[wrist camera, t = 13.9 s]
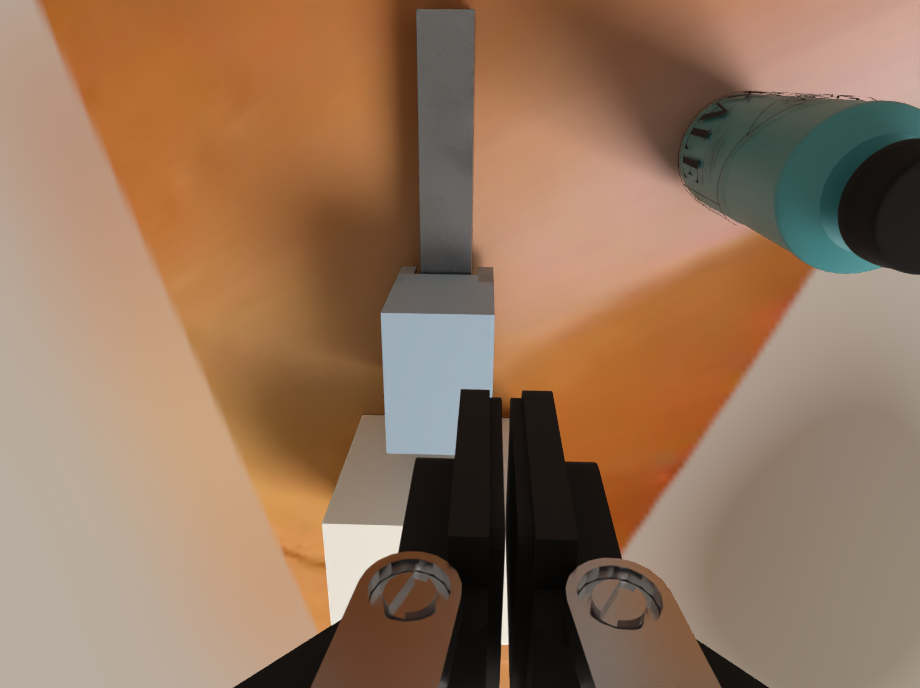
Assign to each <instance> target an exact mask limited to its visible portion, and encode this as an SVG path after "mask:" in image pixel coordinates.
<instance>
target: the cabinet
mask: <svg viewBox="0 0 920 688" xmlns="http://www.w3.org/2000/svg"><path fill="white" fill-rule="evenodd" d="M509 420H510V418H502V434H503V468H504V502H505V517H506V492H507V468H508V444H509ZM417 457H424V458H455V455H429V454H389V453H386V429H385V415H362V417H361V420H360V422H359V425H358V428H357V430H356V433H355V436H354V438H353V441H352V444H351V447H350V449H349V452H348V455H347V457H346V460H345V463H344V466H343V468H342V471H341V474H340V476H339V479H338V482H337V484H336V487H335V490H334V493H333V495H332V498H331V501H330V503H329V506H328V509H327V512H326V514H325V517H324V520H323V522H322V529H323V540H324V551H325V562H326V574H327V585H328V596H329V607H330V618H331V626H332V625H333V624H335V623H336V622H338V621H339V620H341V619H342V617H343V615H344V612H345V610H346V608H347V606H348V603H349V601H350V599H351V597H352V595H353V592H354V590H355V588H356V586H357V584H358V581H359V580H360V578H361V577H362V575H363V574H364V572H365V571H366V569H368V568H369V567H370V566H371V565H373V564H374V563H375V562H376V561H378V560H380V559H382V558H384V557H387V556H389V555H391V554H395V553H398V550H399V545H400V539H401V534H402V528H403V523H404V518H405V512H406V507H407V501H408V496H409V490H410V485H411V479H412V474H413V469H414V463H415V459H416V458H417ZM501 645H509V643H508V609H507V574H506V540H505V564H504V588H503V612H502V635H501Z"/></svg>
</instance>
